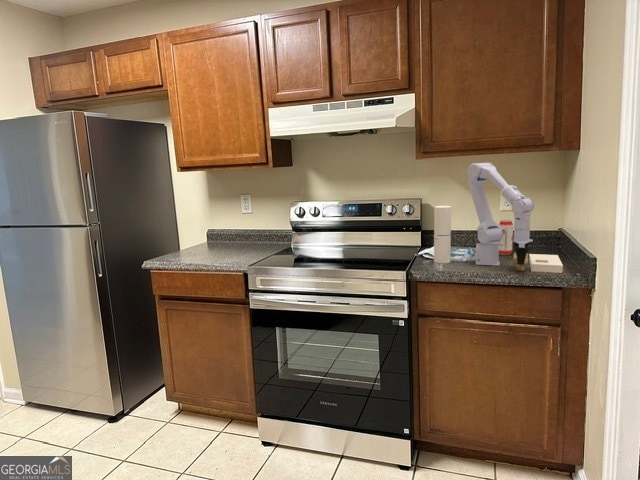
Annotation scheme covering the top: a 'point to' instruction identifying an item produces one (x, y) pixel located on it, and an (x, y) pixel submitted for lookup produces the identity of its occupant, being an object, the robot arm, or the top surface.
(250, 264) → the top surface
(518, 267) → the peg
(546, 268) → the board
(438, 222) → the cylindrical container
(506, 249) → the beer can
